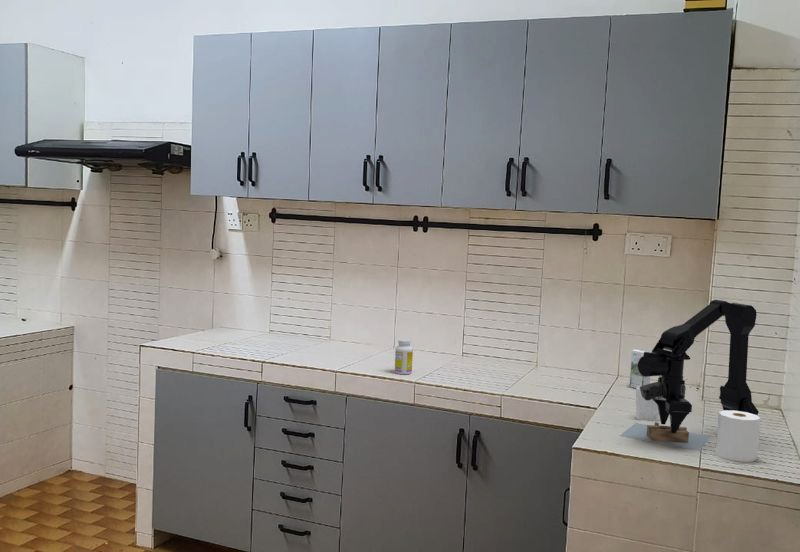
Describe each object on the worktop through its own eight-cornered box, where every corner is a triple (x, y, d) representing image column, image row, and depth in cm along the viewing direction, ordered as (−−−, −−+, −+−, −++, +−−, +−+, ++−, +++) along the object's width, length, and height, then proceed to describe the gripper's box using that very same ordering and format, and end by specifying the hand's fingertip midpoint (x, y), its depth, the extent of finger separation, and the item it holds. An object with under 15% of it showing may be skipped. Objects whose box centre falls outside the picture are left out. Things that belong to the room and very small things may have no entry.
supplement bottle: (411, 371, 308) (413, 339, 307) (412, 375, 301) (413, 342, 300) (394, 371, 308) (395, 338, 307) (394, 374, 301) (396, 341, 300)
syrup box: (650, 388, 298) (653, 350, 297) (643, 390, 294) (645, 352, 292) (636, 385, 302) (638, 348, 301) (628, 387, 298) (631, 349, 296)
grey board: (711, 438, 232) (711, 429, 232) (699, 453, 217) (700, 443, 216) (635, 425, 243) (636, 416, 243) (619, 438, 228) (620, 428, 228)
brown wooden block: (680, 436, 230) (681, 426, 229) (688, 442, 224) (688, 432, 223) (646, 435, 230) (647, 424, 230) (652, 441, 224) (653, 430, 224)
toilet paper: (708, 452, 218) (712, 409, 217) (745, 453, 219) (748, 410, 218) (725, 464, 208) (729, 419, 207) (763, 465, 209) (767, 420, 208)
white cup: (639, 414, 257) (642, 384, 256) (663, 419, 252) (666, 389, 251) (630, 419, 251) (632, 388, 250) (654, 424, 246) (656, 392, 245)
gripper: (634, 367, 235) (630, 418, 236) (653, 380, 216) (649, 436, 217) (672, 369, 234) (668, 420, 236) (694, 382, 216) (690, 438, 217)
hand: (668, 428), depth 227 cm, fingers open, 9 cm apart
